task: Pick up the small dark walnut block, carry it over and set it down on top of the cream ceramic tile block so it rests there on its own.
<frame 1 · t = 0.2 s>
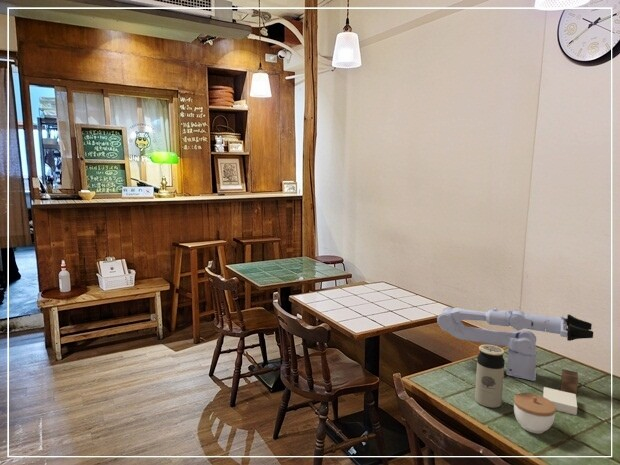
hand: (592, 330, 138), 21 cm above the table, tool horizontal, fingers open, 7 cm apart
travel mug: (487, 402, 132), on the table
cream tile block: (558, 405, 131), on the table
walnut block: (568, 389, 140), on the table
lidded jar: (532, 427, 118), on the table
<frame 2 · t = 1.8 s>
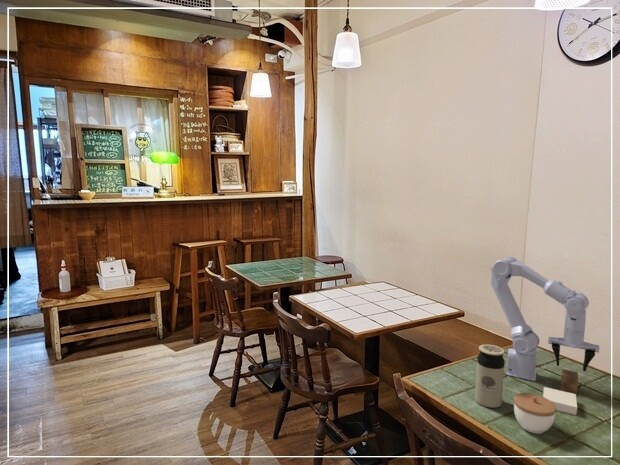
hand: (570, 367, 139), 8 cm above the table, tool pointing down, fingers open, 7 cm apart
nothing on the table moved.
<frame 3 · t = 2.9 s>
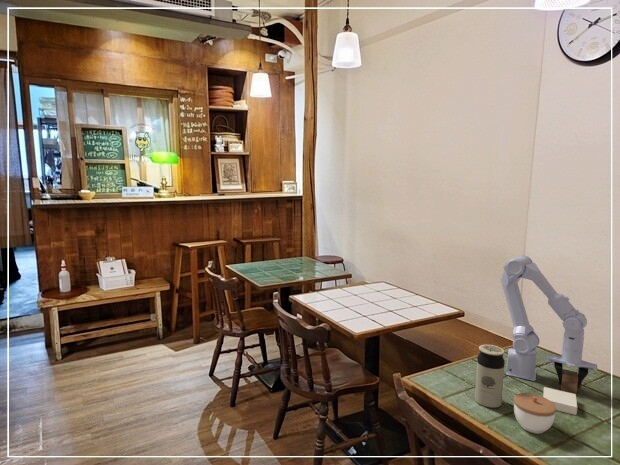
hand: (568, 385, 140), 1 cm above the table, tool pointing down, fingers closed on walnut block, 4 cm apart
walnut block: (568, 389, 140), on the table, touching gripper
everything else where it was.
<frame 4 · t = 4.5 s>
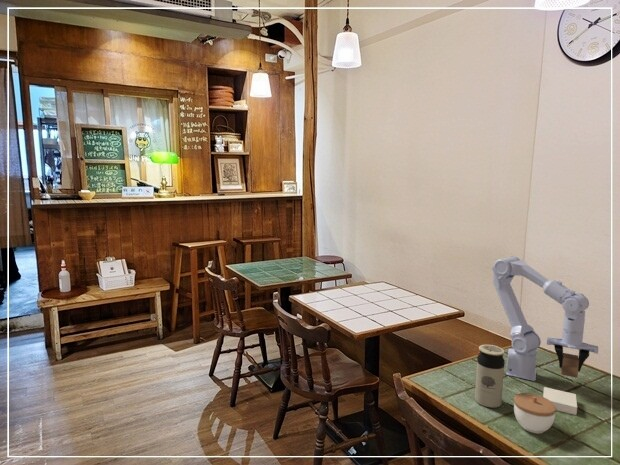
hand: (569, 368, 137), 8 cm above the table, tool pointing down, fingers closed on walnut block, 4 cm apart
walnut block: (568, 373, 137), point 7 cm above the table, touching gripper
everything else where it was.
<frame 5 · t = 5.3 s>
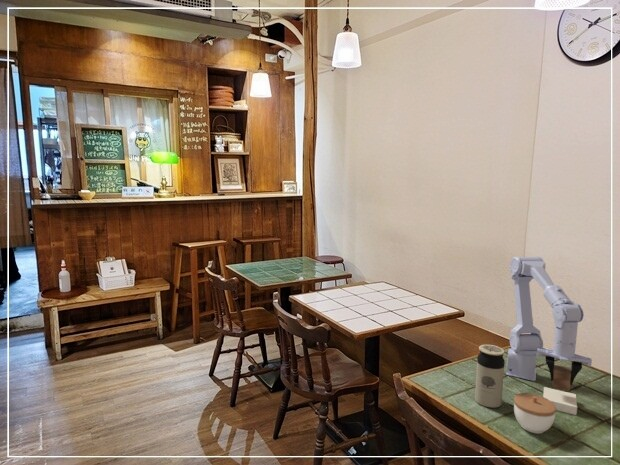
hand: (561, 381, 130), 8 cm above the table, tool pointing down, fingers closed on walnut block, 4 cm apart
walnut block: (560, 386, 130), point 6 cm above the table, touching gripper
everything else where it was.
when the fingers open (6 cm above the table, at t = 6.0 s): walnut block drops 2 cm, point 2 cm above the table.
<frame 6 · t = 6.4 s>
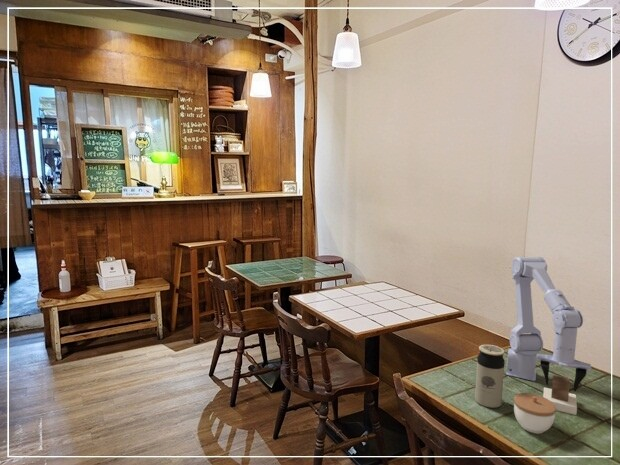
hand: (560, 386, 130), 6 cm above the table, tool pointing down, fingers open, 7 cm apart
walnut block: (559, 396, 131), point 2 cm above the table
everything else where it was.
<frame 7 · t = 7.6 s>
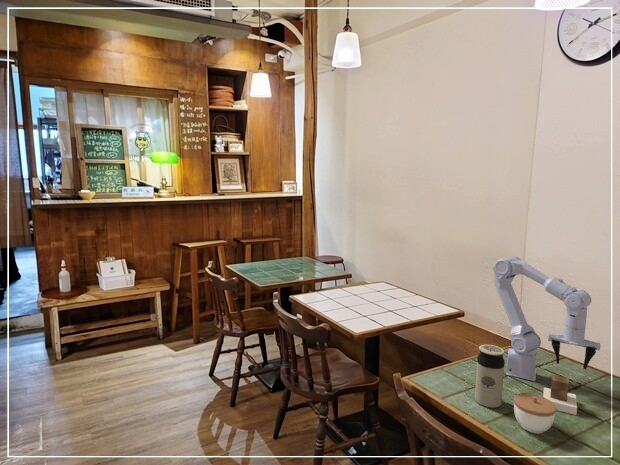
hand: (571, 365, 136), 10 cm above the table, tool pointing down, fingers open, 7 cm apart
nothing on the table moved.
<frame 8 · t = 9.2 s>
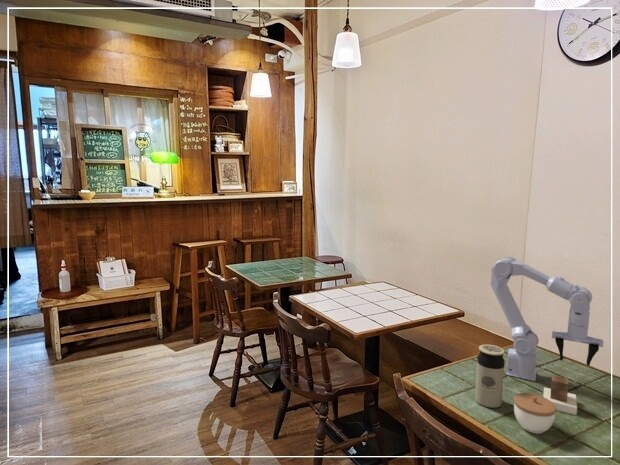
hand: (574, 361, 139), 10 cm above the table, tool pointing down, fingers open, 7 cm apart
cream tile block: (558, 405, 131), on the table, touching walnut block
walnut block: (558, 397, 130), point 2 cm above the table, touching cream tile block
everything else where it was.
at the end: walnut block 0.3 cm off-centre on the cream tile block, point 3.1 cm above the cream tile block's base; walnut block tilted 3°; the gripper is holding nothing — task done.
